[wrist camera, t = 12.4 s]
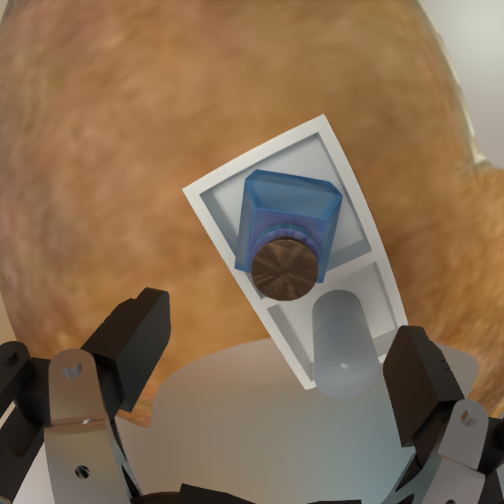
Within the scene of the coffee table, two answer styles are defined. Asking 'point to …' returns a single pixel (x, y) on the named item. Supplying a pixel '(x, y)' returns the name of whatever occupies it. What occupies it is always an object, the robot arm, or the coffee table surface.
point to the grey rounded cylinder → (342, 346)
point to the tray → (342, 252)
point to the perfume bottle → (286, 232)
